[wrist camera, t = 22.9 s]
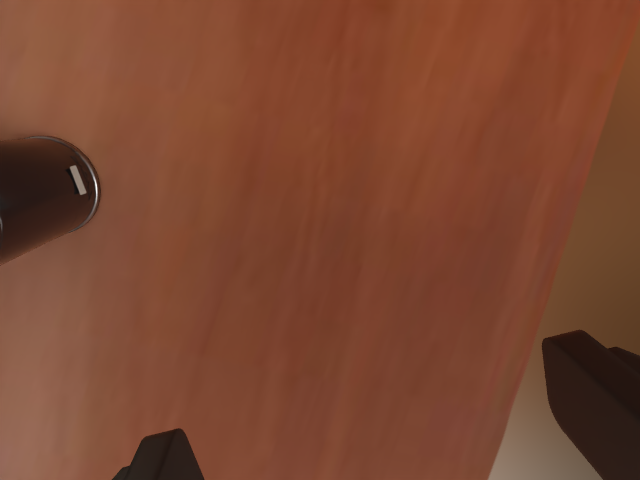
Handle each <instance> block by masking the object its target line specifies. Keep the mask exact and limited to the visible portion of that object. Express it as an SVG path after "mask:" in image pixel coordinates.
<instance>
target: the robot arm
mask: <svg viewBox="0 0 640 480" xmlns="http://www.w3.org/2000/svg"><path fill="white" fill-rule="evenodd" d="M99 201H100V183H99V179H98V176H97V173H96V171H95V169H94V167H93V165H92V164H91V162H90V161H89V159H88V158H87V157H86V156H85V155H84V154H83V153H82V152H81V151H80V150H79V149H78V148H76V147H75V146H73V145H72V144H70V143H68V142H66V141H64V140H61V139H58V138H55V137H49V136H36V137H29V138H25V139H17V140H4V141H0V266H1V265H3V264H5V263H7V262H9V261H11V260H13V259H15V258H17V257H19V256H21V255H23V254H25V253H27V252H29V251H31V250H33V249H35V248H37V247H39V246H41V245H43V244H45V243H47V242H49V241H51V240H53V239H56V238H58V237H60V236H62V235H64V234H66V233H69V232H72V231H74V230H76V229H78V228H80V227H82V226H83V225H85V224H86V223H87V222H88V221H89V220H90V219H91V218H92V217H93V215H94V214H95V212H96V210H97V208H98V205H99ZM542 352H543V360H544V369H545V378H546V386H547V395H548V401H549V404H550V408H551V410H552V413H553V415H554V417H555V419H556V421H557V423H558V424H559V426H560V427H561V429H562V430H563V431H564V433H565V434H566V435H567V436H568V437H569V439H570V440H571V441H572V442H573V443H574V445H575V446H576V447H577V448H578V450H579V451H580V452H581V453H582V454H583V456H584V457H585V458H586V459H587V461H588V462H589V463H590V464H591V465H592V467H594V469H595V470H596V471H597V473H598V474H599V475H600V476H601V477H602V479H603V480H640V356H639V355H636V354H634V353H631V352H629V351H626V350H623V349H621V348H618V347H613V348H609V349H607V348H605V347H604V346H603V345H601V344H600V343H599V342H598V341H596V340H595V339H594V338H593V337H591V336H590V335H589V334H587V333H586V332H585V331H582V330H576V331H572V332H568V333H564V334H560V335H557V336H552V337H548V338H545V339H544V340H543V342H542ZM112 480H204V477H203V475H202V473H201V470H200V468H199V465H198V463H197V461H196V458H195V456H194V453H193V451H192V449H191V446H190V444H189V441H188V439H187V437H186V434H185V433H184V431H183V430H182V429H179V428H178V429H174V430H170V431H166V432H162V433H158V434H154V435H150V436H146V437H144V438H143V440H142V441H141V443H140V445H139V447H138V449H137V452H136V454H135V456H134V458H133V460H132V462H131V465H130V466H127V467H123V468H122V469H121V470H120V471H119V472H118V473H117V475H116V476H115V477H114V478H113V479H112Z"/></svg>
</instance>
